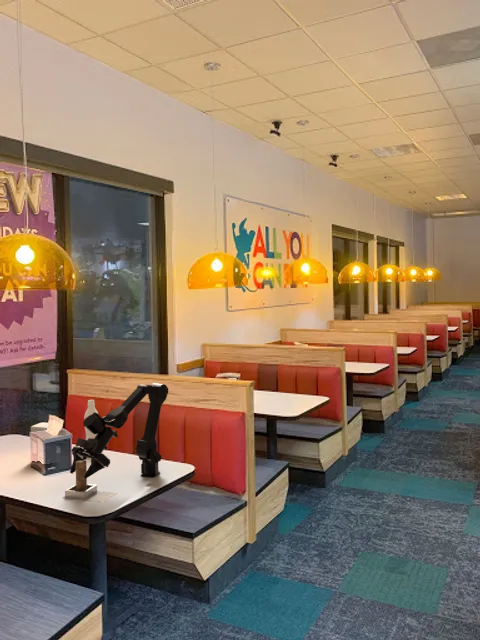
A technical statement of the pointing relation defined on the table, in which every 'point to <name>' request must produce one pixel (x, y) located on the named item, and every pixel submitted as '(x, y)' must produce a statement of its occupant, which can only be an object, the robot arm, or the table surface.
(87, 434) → the water bottle
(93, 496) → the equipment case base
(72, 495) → the beige square tray
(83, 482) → the stay rod
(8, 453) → the table surface
